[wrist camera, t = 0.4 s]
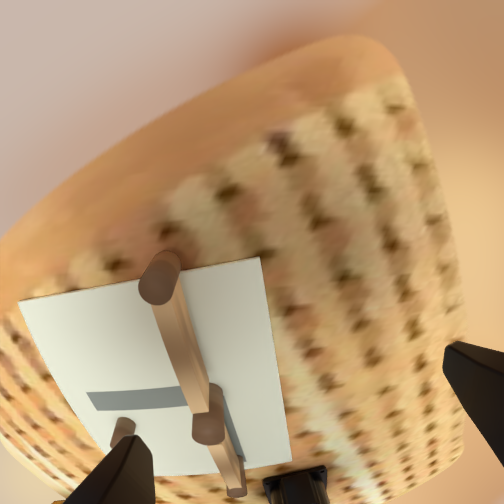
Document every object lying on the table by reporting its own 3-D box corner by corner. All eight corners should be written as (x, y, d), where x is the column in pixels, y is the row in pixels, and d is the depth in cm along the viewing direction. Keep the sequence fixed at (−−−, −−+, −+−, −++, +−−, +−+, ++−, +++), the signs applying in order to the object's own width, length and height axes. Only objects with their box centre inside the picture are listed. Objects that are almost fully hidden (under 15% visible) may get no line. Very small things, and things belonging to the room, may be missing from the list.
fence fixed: (246, 459, 23) (251, 497, 18) (149, 466, 22) (145, 502, 18) (219, 377, 20) (220, 424, 15) (99, 389, 19) (83, 430, 15)
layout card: (291, 458, 23) (292, 461, 23) (122, 472, 22) (122, 475, 22) (259, 256, 17) (259, 258, 17) (19, 300, 16) (17, 302, 16)
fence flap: (213, 378, 18) (214, 413, 15) (189, 382, 18) (186, 416, 15) (177, 248, 16) (168, 268, 13) (149, 253, 16) (133, 275, 13)
